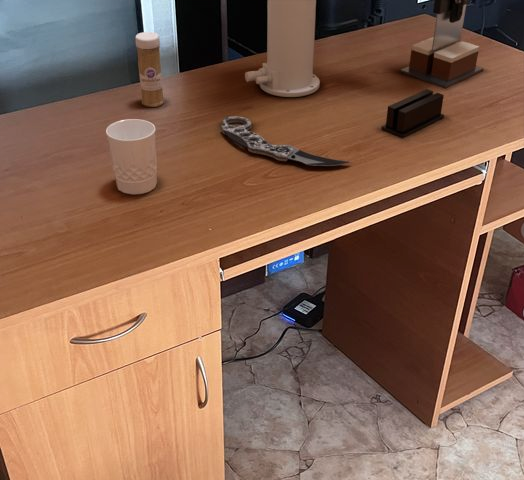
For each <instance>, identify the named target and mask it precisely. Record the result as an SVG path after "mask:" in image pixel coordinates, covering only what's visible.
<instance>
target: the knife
mask: <svg viewBox="0 0 524 480" xmlns="http://www.w3.org/2000/svg"><path fill="white" fill-rule="evenodd" d="M235 123H238V124H243V125H232V124H235ZM251 128H252V122H251V120H250V119H248V118H247V117H244V116H236V115H234V116H226V117H224V118H222V124H221V126H220V130H221V132H222V134H223V135H226V137H228V138H229V139H230V140H231V141H233V142H234V143H236V144H238V145H239V146H241V147H243V148H245V149H247V151H248V152H250V153H252V154H258V155H262V156H263V155H264V156H267V157H270V158H273V159H274V160H277V161H281V162H287V161H288V160H291V161H292V162H295V161H296V162H299V163H302V164H304V165H306V166H314V167H315V166H318V167H335V166H342V165H347V164H348V165H349V164H352V161H349V160H340V159H335V158H329V157H324V156H321V155H316V154H312V153H309V152H306V151H303V150H302V149H298V148H297V147H294V146H293V145H290V144H272V143H270V142H268V141H266V139H265V138H264V137H263V136H261V135H260V134H258V133H256V132H253V131H249V130H250V129H251Z"/></svg>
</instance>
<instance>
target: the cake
mask: <svg viewBox="0 0 524 480" xmlns="http://www.w3.org/2000/svg"><path fill="white" fill-rule="evenodd" d="M433 38H434V36H432V37H430V38H426V39H424V40H422V41H419V42H416V43H413V44H412V45H411V50H410V57H409V65H408V66H406V67H404V68H401V69H400V71H399V72H400V73H401V74H404V75H407V76H409V77H411V78H415V79H418V80H421V81H423V82H426V83H429V84H432V85H434V86H438V87H441V88H443V89H447V88H449V87H451V86H453V85H456V84H458V83H460V82H462V81H464V80H466V79H468V78H471V77H473V76H474V75H477V74H479V73H482V72H484V67H481V66H478V65H477V62H478V56H479V50H480V45H476V44H473V43H469V42H467V41H463V40H460V41H459V42H457V43H454V44H452V45H449V46H447V47H445V48H442V49H440V50H437V51H435V52H433V53H432V45H433Z"/></svg>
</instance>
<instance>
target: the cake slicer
mask: <svg viewBox="0 0 524 480" xmlns="http://www.w3.org/2000/svg"><path fill="white" fill-rule="evenodd" d="M471 1H472V0H466V1H464V6H463V12H462V16H461V19H460V20H459V21H456V22H454V23H450V21H449V19H450V12H451V6H452V3H453V2H455V0H434V3H433V8H432V9H433V10H432V13H433V14H436V16H435V23H434V24H435V25H434V31H433V33H434V34H433V37H434V38H433V45H432V53H433V52H435V51H437V50H440V49H442V48H445V47H447V46H449V45H452V44H454V43H459V42H461V41H462V33H463V26H464V21H465V14H466V10H467V9H466V8H467V4H468V5H469V4H471Z"/></svg>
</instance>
